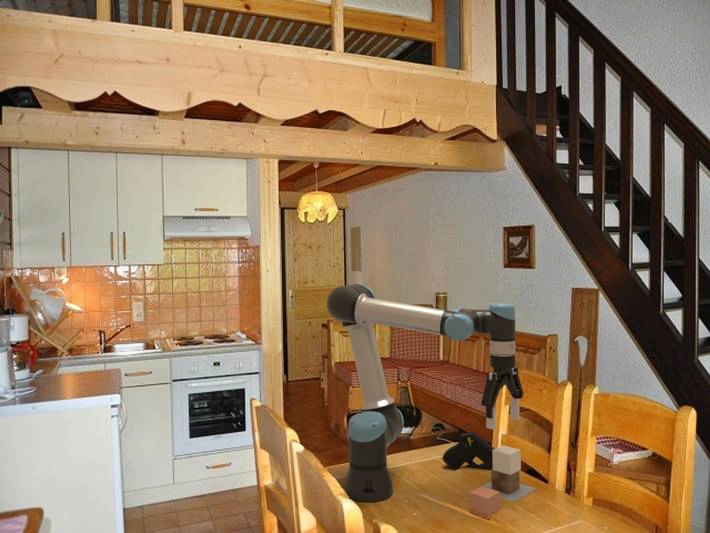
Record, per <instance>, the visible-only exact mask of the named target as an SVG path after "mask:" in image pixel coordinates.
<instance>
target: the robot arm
mask: <svg viewBox="0 0 710 533" xmlns="http://www.w3.org/2000/svg"><path fill="white" fill-rule="evenodd" d="M488 307H489V308H488V309H469V308H468V309H467V308H457V309H456V308H455V309H452V310H446V309H440V308H434V307H433V308H432V307H427V306H422V305H421V306H420V305H415V304H409V303H403V302H397V301H393V300H392V301H391V300H385V299H378V298H377V296H376V295H375V293H374V291H373V289H371V288H370V287H368V286H366V285H363V284H358V283H355V284H348V285H341V286H337V287H335V288H334V289H332V290H331V291H330V293H329V294H328V296H327V298H326V309H327V311H328V314H329V315H330V316H331V317H332V318H333V319H335V320H336V321H338V322H341V324H342V328H343V329H344V330H345V331H347V332H348V336H349V340H350V344H351V350H352V353H353V359H354V363H355V367H356V372H357V375H358V381H359V385H360V390H361V394H362V399H363V403H362V405H361V406H360V411H361V412H359V413H356V414H354V415H352V416H351V417H350V419H349V421H348V428H347V434H348V457H349V462H348V463H349V467H348V471H347V474H346V480H345V481H344V488H343V489H344V490H345V492H346V493H347V495H348V496H349V497H350V498H351V499H350V498H349V499H350V500H354V501H357V502H363V503H367V502H368V503H373V502H380V501H383V500H386V499H388V498H390V497H391V496H392V495H393V494H394V484H393V480H392V478H391V475H390V472H389V469H388V468H389V467H388V464H387V462H388V460H387V459H388V458H387V453H388V452H387V451H388V450H387V449H388V447H389V446H390V445H391V444H392V443H393V442H395V441H396V440H397V439H399V437H400V435H401V434H402V432H403V429H404V424H405V422H404V416H403V414H402V412H401V410H400V409H399V408H397V405H396V402H395V401H396V400H395V399H394V398H392V397H391V396H390V395H389V390H388V386H387V381H386V379H385V373H384V368H383V365H382V364H383V363H382V361H381V356H380V352H379V347H378V343H377V337H376V334H375V333H376V332H375V328H374V325H375V324H376V325H382V326H387V327H393V328H399V329H405V330H410V331H416V332H422V333H426V334H433V335H438V336H444V337H447V338H449V339H451V340H453V341H458V342H459V341H464V340H467V339H468V338H470V337H471V336H472V335H476V334H478V335H489V353H490V355H489V366H490V367H491V368H492V369H493V372H487V374H486V382H485V386H484V388H483V389H484V390H483V395H482V398H481V402H480V405H481V406H483V407H485V417H486V418H485V420H486V422H485V423H486V424H485V425H486V427H485V428H486V429H489V430H493V431H495V430H497V429H496V428H497V425H496V424H497V422H496V421H497V420H496V416H497V414H496V413H497V412H496V409H497V408H496V406H495V404H496V402H497V398H498V397H499V394H500V391H501V389H503V388H504V387H506V389H507V391H508V392H509V394H510V395H511V397H510V398H509V399H510V400H509V401H510V402H509V405H510V406H509V408H510V410H509V412H510V416H509V418H510V419H511V420H515V421H520V399H521V400H522V399H523V397H524V389H523V386H522V382H521V379H520V375H519V369H518V367H516V363H517V362H516V361H517V360H516V355H515V353H516V347H517V345H516V312H515V311H516V309H515V306H514V305H513V304H512V303H506V302H505V303H504V302H499V303H498V302H495V303H493V302H492V303H490V304H489V306H488Z"/></svg>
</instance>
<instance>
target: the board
mask: <svg viewBox="0 0 710 533" xmlns="http://www.w3.org/2000/svg"><path fill="white" fill-rule="evenodd" d="M482 486H483V487H486V488H489V489H492V482H491V480H490V481H488V482H486V483H485V484H483V485H482ZM492 490H493V489H492ZM534 490H536V487H532V486H529V485H526V484H522V483H520V489H518V490H516V491H515V492H513V493H511V494H510V495H509V494H506V493H502V492H500V499H504V500H506V501H510V502H513V503H514V502H516V501H518V500H520V499H522V498H523V497H525V496H527V494H530V493H531V492H533V491H534ZM495 491H496V490H495ZM498 492H499V491H498Z"/></svg>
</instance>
